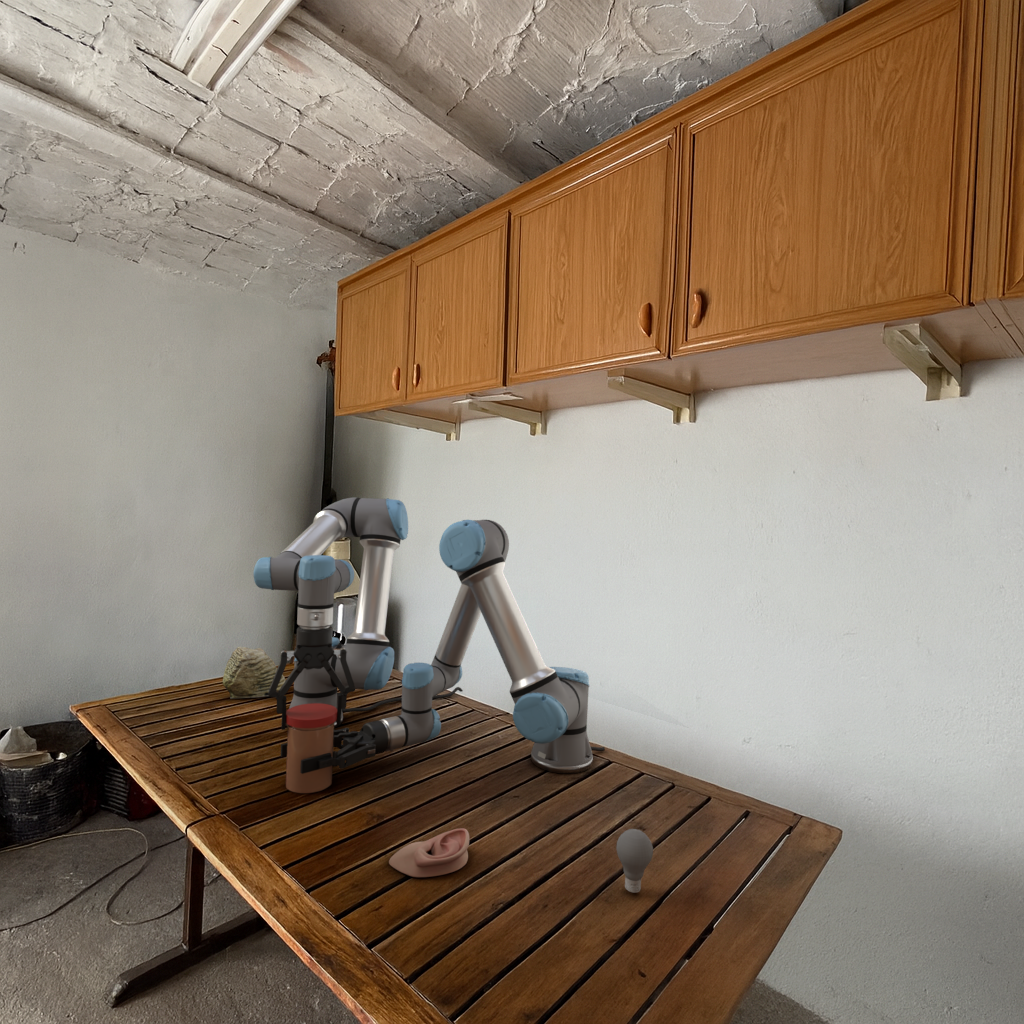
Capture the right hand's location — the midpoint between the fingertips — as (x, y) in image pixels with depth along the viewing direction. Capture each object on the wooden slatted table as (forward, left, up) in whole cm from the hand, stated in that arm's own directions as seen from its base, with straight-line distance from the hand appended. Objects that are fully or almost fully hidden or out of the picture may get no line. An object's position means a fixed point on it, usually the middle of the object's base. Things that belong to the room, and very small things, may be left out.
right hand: (291, 758), depth 137 cm
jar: (-4, -2, -6) cm, 8 cm away
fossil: (+13, -68, -6) cm, 70 cm away
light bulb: (-56, +50, -6) cm, 75 cm away
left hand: (-4, -2, +6) cm, 8 cm away
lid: (-4, -2, +9) cm, 10 cm away
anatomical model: (-25, +34, -6) cm, 42 cm away
